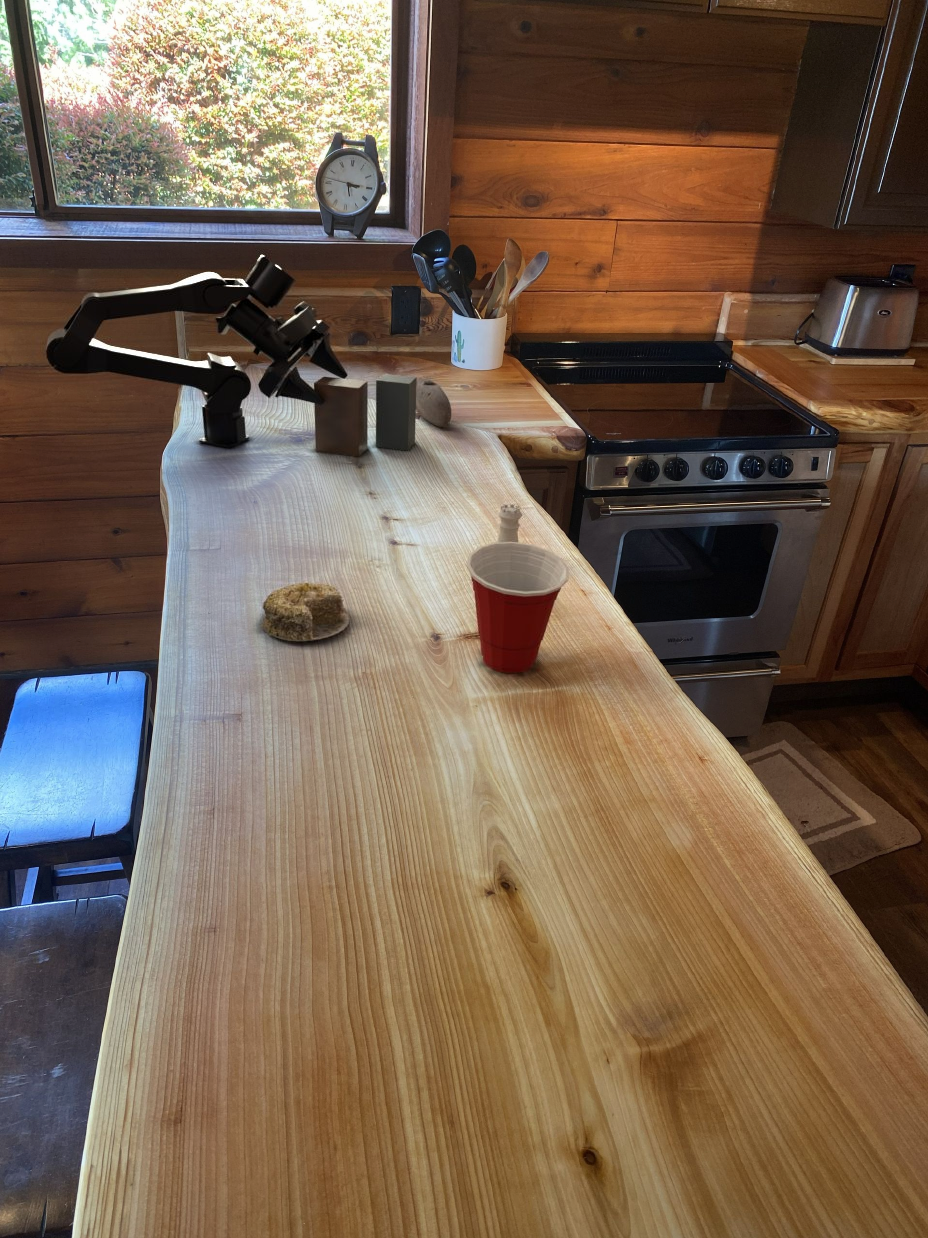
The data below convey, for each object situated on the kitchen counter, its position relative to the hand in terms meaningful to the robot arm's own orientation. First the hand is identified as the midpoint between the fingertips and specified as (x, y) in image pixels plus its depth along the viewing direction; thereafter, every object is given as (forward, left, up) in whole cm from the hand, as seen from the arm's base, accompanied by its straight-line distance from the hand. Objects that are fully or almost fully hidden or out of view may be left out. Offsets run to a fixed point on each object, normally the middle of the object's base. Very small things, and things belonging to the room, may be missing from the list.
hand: (335, 389), depth 156 cm
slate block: (+9, +7, -10) cm, 15 cm away
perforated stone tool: (+9, +24, -10) cm, 27 cm away
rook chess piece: (+44, -31, -10) cm, 55 cm away
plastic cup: (+52, -55, -11) cm, 77 cm away
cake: (+28, -58, -11) cm, 66 cm away
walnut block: (+2, -1, -10) cm, 10 cm away
